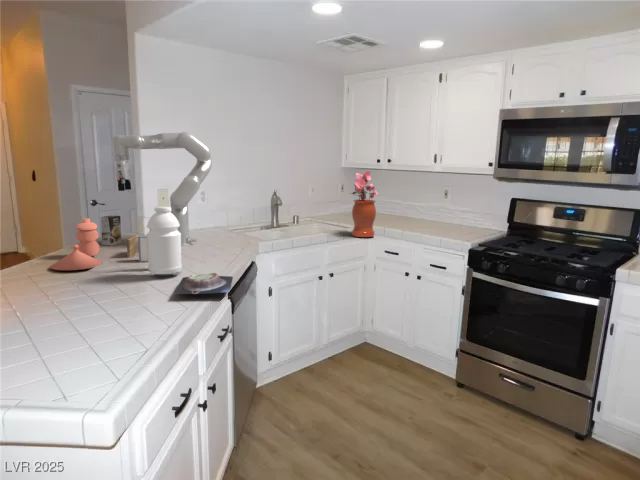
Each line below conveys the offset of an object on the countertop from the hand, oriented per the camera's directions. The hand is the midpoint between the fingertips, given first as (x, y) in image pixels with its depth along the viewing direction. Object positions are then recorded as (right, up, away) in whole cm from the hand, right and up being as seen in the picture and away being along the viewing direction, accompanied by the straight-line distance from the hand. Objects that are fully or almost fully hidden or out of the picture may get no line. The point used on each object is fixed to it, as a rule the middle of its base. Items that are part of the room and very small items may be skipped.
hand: (124, 190), depth 234 cm
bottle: (+39, -41, -47) cm, 74 cm away
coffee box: (-12, -30, +10) cm, 34 cm away
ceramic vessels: (-5, -38, -33) cm, 51 cm away
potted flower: (+137, -25, +62) cm, 152 cm away
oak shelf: (+19, -35, -16) cm, 43 cm away
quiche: (+62, -46, -68) cm, 103 cm away
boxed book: (+25, -37, -29) cm, 54 cm away
